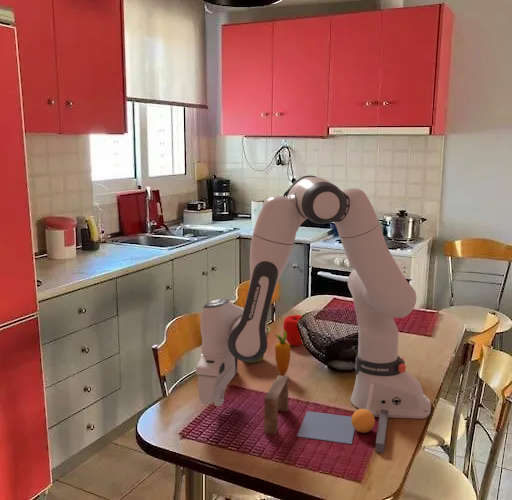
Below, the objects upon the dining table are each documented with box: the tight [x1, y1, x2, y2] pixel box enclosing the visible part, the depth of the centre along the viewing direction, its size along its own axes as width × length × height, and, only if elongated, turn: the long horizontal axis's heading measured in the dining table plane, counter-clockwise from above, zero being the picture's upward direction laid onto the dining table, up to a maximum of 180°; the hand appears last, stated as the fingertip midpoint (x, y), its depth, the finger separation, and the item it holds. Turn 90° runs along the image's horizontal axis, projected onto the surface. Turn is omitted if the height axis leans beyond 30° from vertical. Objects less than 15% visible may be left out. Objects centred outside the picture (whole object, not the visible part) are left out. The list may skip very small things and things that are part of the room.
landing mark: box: [296, 410, 356, 445], centre depth 154 cm, size 14×14×1 cm
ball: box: [351, 408, 376, 434], centre depth 151 cm, size 6×6×6 cm
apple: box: [282, 314, 303, 347], centre depth 212 cm, size 9×9×11 cm
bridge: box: [263, 374, 290, 436], centre depth 157 cm, size 3×15×10 cm, turn 164°
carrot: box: [274, 330, 291, 376], centre depth 184 cm, size 5×5×15 cm
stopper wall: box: [374, 409, 389, 454], centre depth 150 cm, size 2×18×2 cm, turn 164°
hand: (219, 403), depth 162 cm, fingers closed
